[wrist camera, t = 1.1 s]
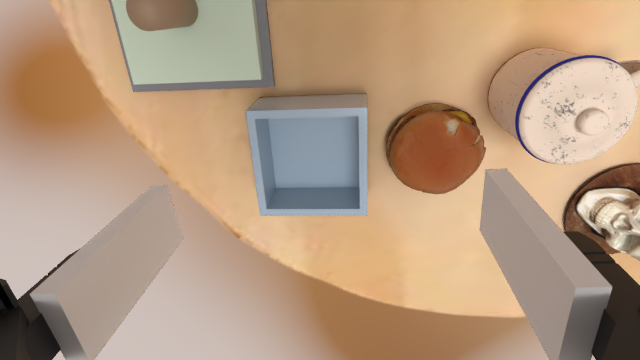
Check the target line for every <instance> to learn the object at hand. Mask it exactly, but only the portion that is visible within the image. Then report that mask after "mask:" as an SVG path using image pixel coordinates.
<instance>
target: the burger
mask: <svg viewBox="0 0 640 360" xmlns="http://www.w3.org/2000/svg"><path fill="white" fill-rule="evenodd" d="M387 150H388V151H387V159H388V162H389V164H390V166H391V168H392V169H393V172H394V174H395V175H396V177H397V178H398V179H399V180H400V181H401V182H402V183H403V184H404V185H406V186H408V187H410V188H412V189H415V190H419V191H422V192H426V193H432V194H442V193H447V192H449V191H452V190H454V189H456V188H457V187H459V186H460V185H461V184H463V183H464V182H465V181H466V180H467V179H468V178H469V177H470V176H471V175H473V173H474V172H475V171H476V170H477V169H478V167H479V166H480V164H481V162H482V160H483V158H484V155H485V151H486V148H485V147H484V140H483V137H482V136H480V131H479V129H478V127H477V124H476V121H475V119H474V118H473V117H471V116H470V115H469V114H468V113H466V112H463V111H460V110H459V109H454V108H453V107H450V106H448V105H445V104H440V103H435V104H427V105H424V106H422V107H417V108H415V109H413V110H412V111H410V112H409V113H408V114H407V115H405V116H403V117H402V118H401V120H399V121H398V123H397V125H396V126H395V128H394V129H393V130H392V131H391V134H390V135H389V138H388V142H387Z"/></svg>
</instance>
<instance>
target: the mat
mask: <svg viewBox="0 0 640 360" xmlns="http://www.w3.org/2000/svg"><path fill="white" fill-rule="evenodd" d="M109 2H110V6H111V10H112V13H113V17H114V21H115V25H116V29H117V32H118V36H119V40H120V44H121V47H122V51H123V55H124V59H125V63H126V66H127V70H128V74H129V78H130V81H131V85H132V89H133V92H145V91H172V90H199V89H225V88H252V87H274V86H275V80H274V71H273V61H272V51H271V42H270V32H269V22H268V12H267V3H266V0H255V6H256V15H257V23H258V32H259V41H260V50H261V58H262V67H263V76H264V78H262V79H261V80H238V81H212V82H187V83H162V84H137V85H133V81H132V77H131V73H130V69H129V65H128V62H127V58H126V54H125V50H124V46H123V43H122V39H121V35H120V31H119V27H118V23H117V20H116V16H115V12H114V8H113V4H112V1H111V0H109Z"/></svg>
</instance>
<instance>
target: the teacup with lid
mask: <svg viewBox="0 0 640 360" xmlns="http://www.w3.org/2000/svg"><path fill="white" fill-rule="evenodd" d="M638 86H640V61H638V60H633V61H622V62H616V61H614V60H611V59H609V58H606V57H601V56H594V55H585V56H582V55H577V54H573V53H568V52H564V51H560V50H555V49H550V48H536V49H531V50H527V51H525V52H522V53H520V54H518V55H516V56H514V57H513V58H511V59H510V60H509V61H508V62H506V63H505V64H504V65H503V66H502V67H501V69H500V70H499V71H498V72H497V74H496V75H495V77H494V79H493V81H492V83H491V86H490V90H489V95H488V103H489V108H490V111H491V114H492V116H493V117H494V119H495V120H496V121H497V123H498V124H500V125H501V126H502V127H503V128H504V129H505V130H507V131H508V132H509V133H510V134H511V135H513V136H514V137H515V138H516V139H517V140H519V141H520V143H521V145H522V146H523V148H524V149H525V150H526V151H527V152H528V153H529V154H531V155H532V156H534V157H535V158H537V159H539V160H541V161H544V162H548V163H553V164H574V163H579V162H583V161H587V160H590V159H592V158H594V157H596V156H599V155H600V154H602V153H604V152H605V151H607V150H608V149H610V148H611V147H612V146H613V145H615V144H616V143H617V142H618V141H619V140H620V139H621V138H622V137H623V135H624V134H625V133H626V131H627V130H628V128H629V127H630V125H631V123H632V121H633V119H634V116H635V113H636V110H637V103H638V94H637V88H636V87H638Z"/></svg>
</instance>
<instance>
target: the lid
mask: <svg viewBox="0 0 640 360" xmlns="http://www.w3.org/2000/svg"><path fill="white" fill-rule="evenodd" d="M111 1H112V4H113V8H114V12H115V16H116V20H117V23H118V27H119V31H120V35H121V39H122V43H123V46H124V50H125V54H126V58H127V62H128V65H129V69H130V73H131V77H132V81H133V85H137V84H162V83H187V82H212V81H238V80H261V79H262V78H264V76H263V67H262V58H261V50H260V41H259V32H258V23H257V15H256V6H255V0H111Z"/></svg>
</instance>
